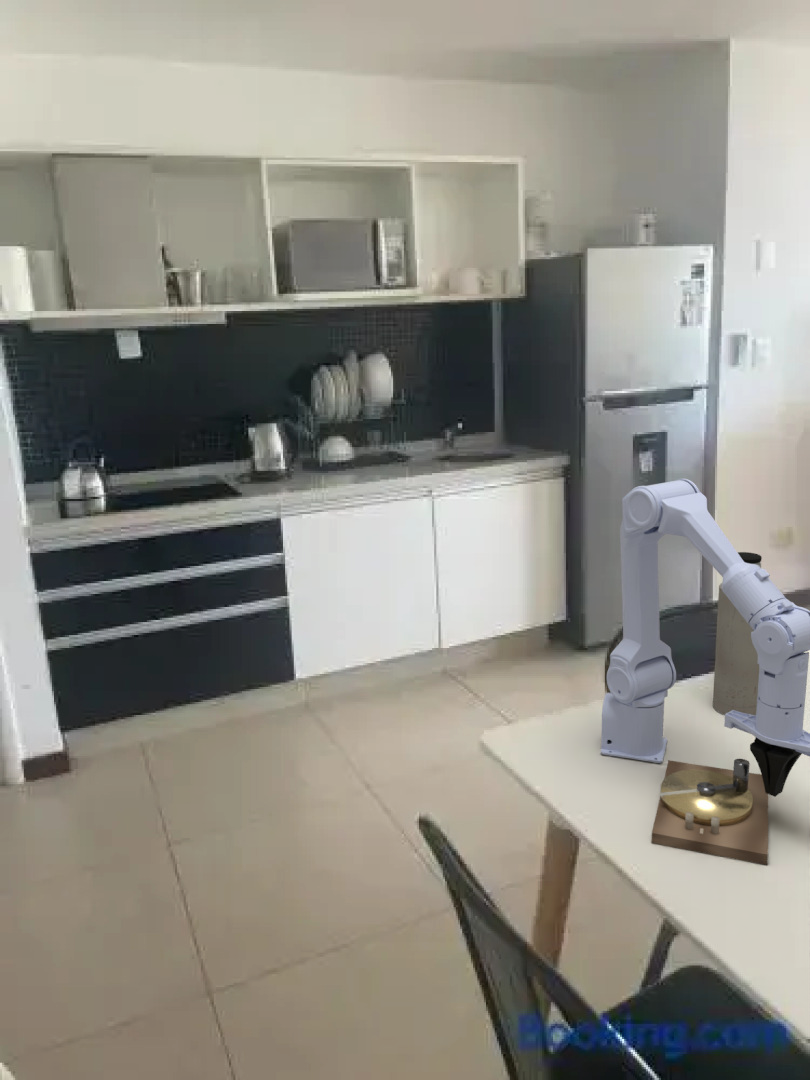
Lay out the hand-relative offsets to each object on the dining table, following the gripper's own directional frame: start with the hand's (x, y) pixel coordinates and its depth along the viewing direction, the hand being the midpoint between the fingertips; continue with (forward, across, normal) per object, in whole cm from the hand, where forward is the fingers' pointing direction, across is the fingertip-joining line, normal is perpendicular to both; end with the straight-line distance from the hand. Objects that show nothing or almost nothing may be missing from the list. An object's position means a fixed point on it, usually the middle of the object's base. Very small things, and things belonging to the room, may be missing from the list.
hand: (773, 792), depth 113 cm
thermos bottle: (+5, +22, -27) cm, 35 cm away
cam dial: (+3, +7, +5) cm, 9 cm away
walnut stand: (+4, +6, +4) cm, 9 cm away
